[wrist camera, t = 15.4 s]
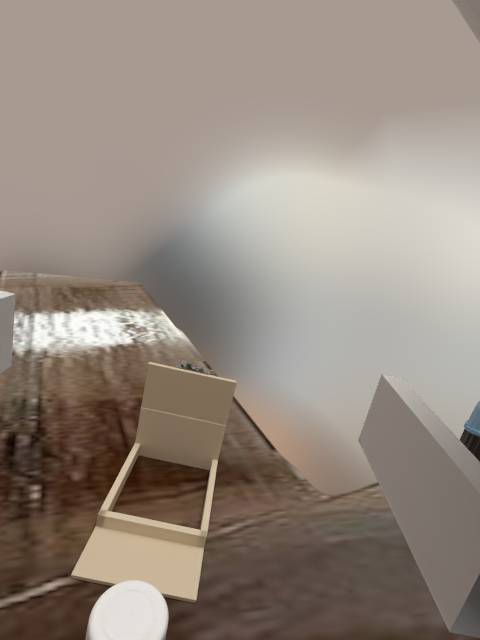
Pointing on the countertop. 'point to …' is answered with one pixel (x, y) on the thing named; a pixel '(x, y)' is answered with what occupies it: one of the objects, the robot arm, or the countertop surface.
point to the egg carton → (191, 367)
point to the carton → (173, 446)
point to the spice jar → (129, 613)
